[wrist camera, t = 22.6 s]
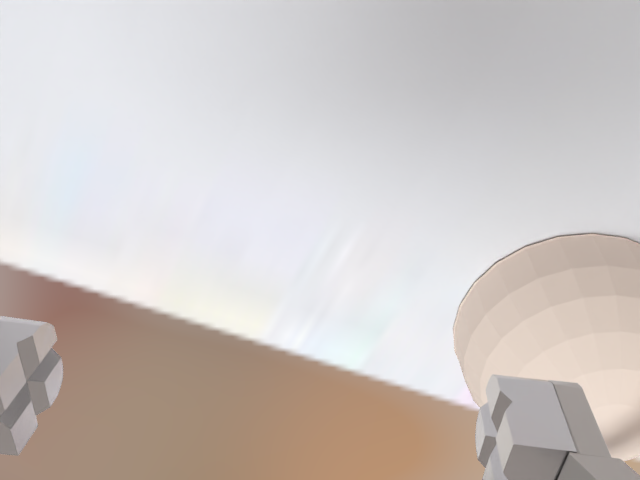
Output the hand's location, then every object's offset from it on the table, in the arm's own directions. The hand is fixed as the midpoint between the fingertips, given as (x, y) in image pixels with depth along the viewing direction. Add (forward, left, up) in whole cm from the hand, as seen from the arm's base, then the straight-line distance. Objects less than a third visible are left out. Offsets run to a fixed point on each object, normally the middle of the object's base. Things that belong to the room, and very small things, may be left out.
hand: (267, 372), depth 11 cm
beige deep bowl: (-22, +24, -34) cm, 47 cm away
